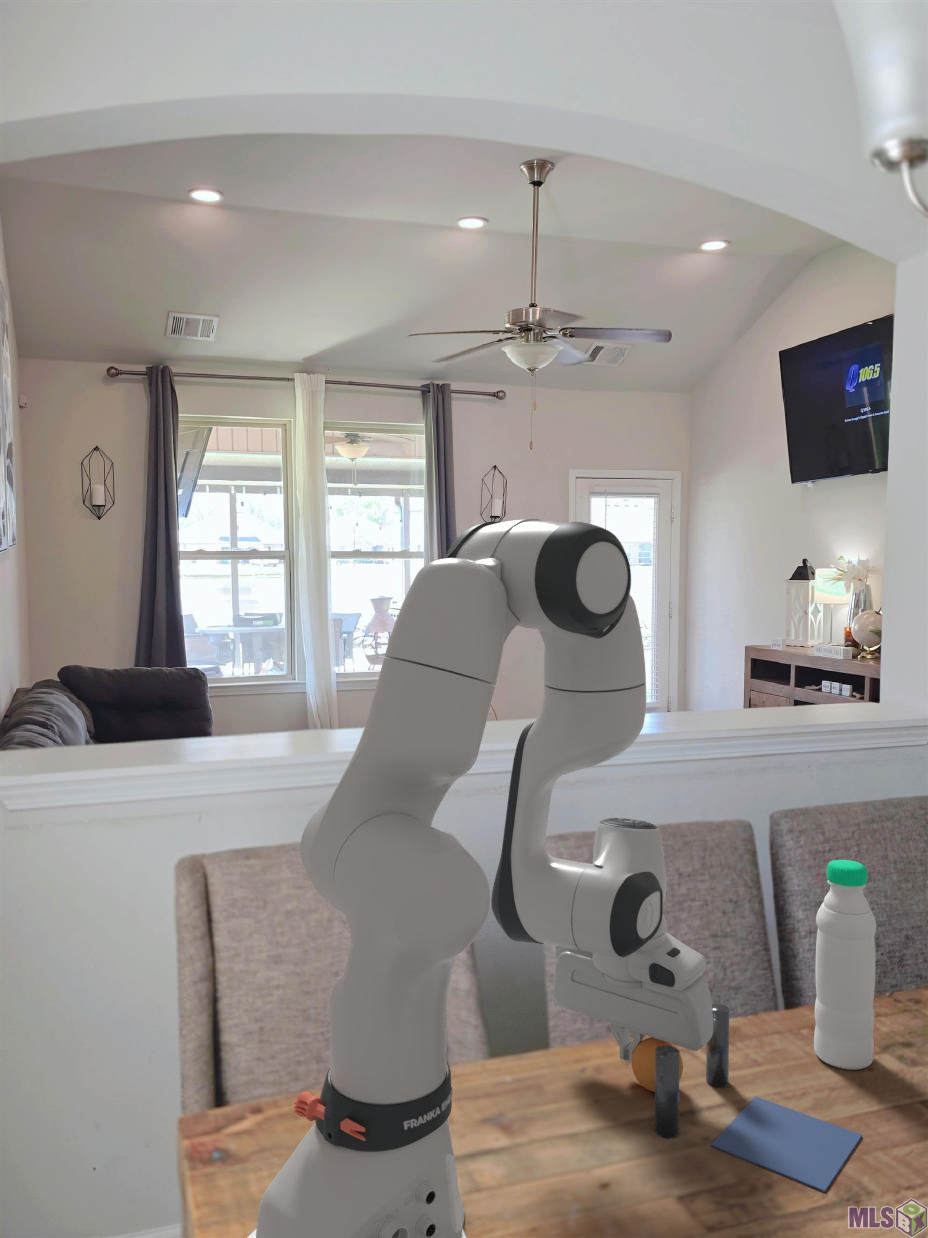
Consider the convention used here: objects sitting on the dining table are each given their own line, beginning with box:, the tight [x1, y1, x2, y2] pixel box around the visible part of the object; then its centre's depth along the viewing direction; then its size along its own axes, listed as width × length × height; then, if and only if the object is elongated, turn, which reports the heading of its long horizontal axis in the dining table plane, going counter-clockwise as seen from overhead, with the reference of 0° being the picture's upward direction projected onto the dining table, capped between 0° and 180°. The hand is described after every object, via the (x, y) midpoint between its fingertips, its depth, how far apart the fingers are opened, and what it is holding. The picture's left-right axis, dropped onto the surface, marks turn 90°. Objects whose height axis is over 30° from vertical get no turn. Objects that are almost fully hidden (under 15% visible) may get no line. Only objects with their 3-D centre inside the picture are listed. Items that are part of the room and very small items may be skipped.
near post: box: [654, 1045, 681, 1139], centre depth 104 cm, size 3×3×9 cm
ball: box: [631, 1036, 684, 1093], centre depth 112 cm, size 6×6×6 cm
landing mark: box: [711, 1096, 863, 1193], centre depth 102 cm, size 12×12×1 cm
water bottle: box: [813, 859, 877, 1071], centre depth 119 cm, size 7×7×25 cm
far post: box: [705, 1003, 730, 1088], centre depth 114 cm, size 3×3×9 cm
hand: (629, 1059), depth 115 cm, fingers closed
